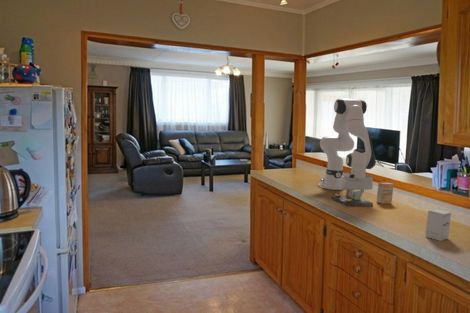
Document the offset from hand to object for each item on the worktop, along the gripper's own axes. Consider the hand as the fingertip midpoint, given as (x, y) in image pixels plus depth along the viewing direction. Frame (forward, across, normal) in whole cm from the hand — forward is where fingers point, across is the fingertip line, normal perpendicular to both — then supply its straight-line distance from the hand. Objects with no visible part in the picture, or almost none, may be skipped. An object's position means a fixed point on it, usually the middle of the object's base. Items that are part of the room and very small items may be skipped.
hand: (356, 196), depth 247 cm
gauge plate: (+4, +3, 0) cm, 5 cm away
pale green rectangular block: (+2, 0, 0) cm, 2 cm away
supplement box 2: (+4, -2, +70) cm, 70 cm away
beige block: (+2, 0, -7) cm, 7 cm away
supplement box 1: (+4, -19, +2) cm, 20 cm away
